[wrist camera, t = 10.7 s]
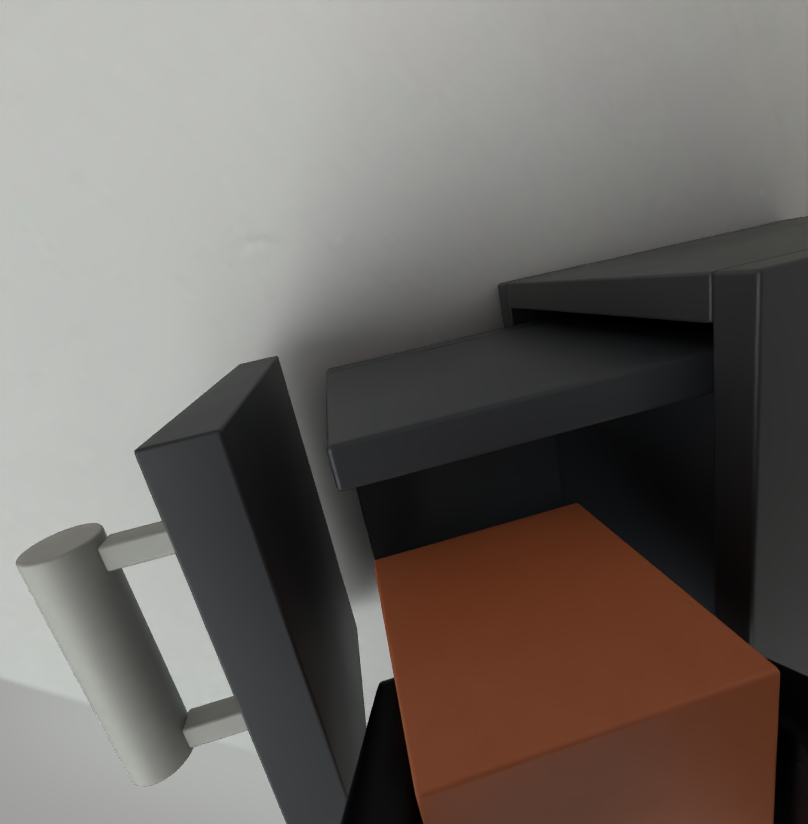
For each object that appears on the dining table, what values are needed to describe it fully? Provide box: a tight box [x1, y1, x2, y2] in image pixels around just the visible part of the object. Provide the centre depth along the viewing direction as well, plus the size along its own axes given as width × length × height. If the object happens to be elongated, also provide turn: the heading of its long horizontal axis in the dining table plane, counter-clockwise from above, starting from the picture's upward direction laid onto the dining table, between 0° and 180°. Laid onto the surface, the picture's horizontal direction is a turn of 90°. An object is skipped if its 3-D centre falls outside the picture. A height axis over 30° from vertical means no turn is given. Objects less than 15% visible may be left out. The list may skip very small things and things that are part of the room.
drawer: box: [16, 317, 715, 824], centre depth 12 cm, size 14×10×8 cm
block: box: [374, 503, 780, 824], centre depth 7 cm, size 4×4×4 cm
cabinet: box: [498, 216, 808, 676], centre depth 13 cm, size 11×12×10 cm
